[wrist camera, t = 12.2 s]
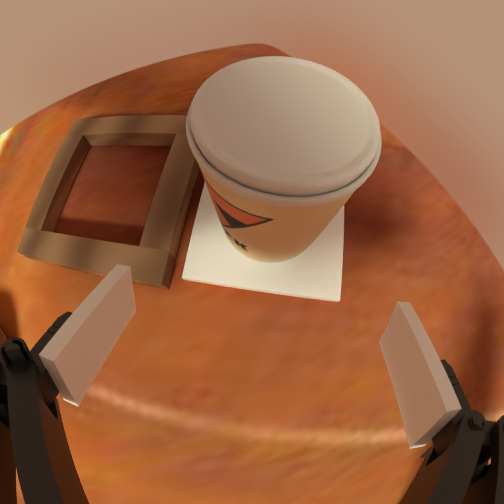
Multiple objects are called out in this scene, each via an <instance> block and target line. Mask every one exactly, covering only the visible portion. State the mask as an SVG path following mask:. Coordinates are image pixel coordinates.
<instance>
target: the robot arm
mask: <svg viewBox="0 0 504 504" xmlns="http://www.w3.org/2000/svg"><path fill="white" fill-rule="evenodd" d="M135 313H136V304H135V298H134V291H133V284H132V276H131V267H130V266H125V265H119V264H117V265H116V266H115V267H114V268H113V269H112V270H111V271H110V272H109V273H108V274H107V276H106V277H105V278H104V279H103V280H102V281H101V282H100V283H99V284H98V285H97V286H96V287H95V289H94V290H93V291H92V292H91V293H90V294H89V295H88V296H87V297H86V299H85V300H84V301H83V302H82V303H81V304H80V305H79V306H78V308H77V309H76V310H75V311H74V312H73V313H71V312H66V313H65V314H63V315H61V316H60V317H58V318H57V320H56V321H55V322H54V323H53V324H52V326H51V327H50V328H49V329H48V330H47V332H45V334H44V335H43V336H42V337H41V338H40V340H39V341H38V342H37V343H36V344H35V346H34V347H33V348H32V349H31V351H29V349H28V347H27V345H26V343H25V341H24V340H23V339H21V338H11V339H8V340H6V341H5V342H4V343H3V344H2V345H1V346H0V356H1V358H2V359H0V504H17V496H16V469H17V473H18V478H19V482H20V486H21V490H22V494H23V497H24V501H25V504H89V502H88V500H87V497H86V495H85V493H84V490H83V487H82V485H81V482H80V479H79V477H78V474H77V471H76V468H75V465H74V462H73V459H72V456H71V452H70V449H69V446H68V442H67V439H66V435H65V431H64V427H63V423H62V419H61V414H60V409H59V405H58V401H57V399H56V396H57V395H58V393H60V394H61V396H62V398H63V399H64V400H65V401H67V402H69V403H71V404H74V405H76V406H78V407H79V405H80V403H81V401H82V400H83V398H84V396H85V394H86V393H87V391H88V389H89V387H90V386H91V384H92V382H93V380H94V379H95V377H96V375H97V374H98V372H99V370H100V369H101V367H102V365H103V364H104V362H105V360H106V359H107V357H108V355H109V354H110V352H111V350H112V349H113V347H114V346H115V344H116V342H117V341H118V339H119V338H120V336H121V334H122V333H123V331H124V330H125V328H126V326H127V325H128V323H129V322H130V320H131V319H132V317H133V316H134V314H135ZM379 344H380V347H381V350H382V353H383V356H384V359H385V362H386V366H387V369H388V372H389V375H390V378H391V382H392V385H393V388H394V392H395V395H396V399H397V402H398V406H399V409H400V413H401V417H402V421H403V424H404V428H405V432H406V436H407V441H408V445H409V449H411V448H416V447H422V446H425V445H426V444H427V443H428V442H429V441H430V440H431V439H432V441H433V444H434V445H433V446H431V447H430V448H429V449H428V450H427V451H426V452H425V453H423V454H422V456H421V457H420V458H423V457H424V456H425V455H426V457H425V459H424V461H423V463H422V465H421V467H420V469H419V471H418V473H417V475H416V476H415V478H414V480H413V482H412V484H411V485H410V487H409V489H408V490H407V492H406V494H405V495H404V497H403V498H402V500H401V502H400V503H399V504H504V415H503V416H502V417H501V418H500V419H499V420H498V421H497V422H493V421H486V420H485V418H484V417H483V415H482V414H481V413H479V412H478V411H475V410H471V409H470V406H469V404H468V402H467V399H466V397H465V395H464V392H463V390H462V388H461V386H460V385H459V381H458V379H457V378H456V375H455V373H454V371H453V369H452V367H451V366H450V365H449V364H448V363H447V362H446V361H445V360H440V359H439V357H438V354H437V352H436V350H435V348H434V346H433V344H432V342H431V341H430V339H429V337H428V335H427V333H426V331H425V329H424V327H423V325H422V323H421V322H420V320H419V318H418V316H417V314H416V312H415V311H414V309H413V307H412V305H411V304H410V302H398V301H397V303H396V306H395V308H394V310H393V313H392V315H391V317H390V320H389V322H388V324H387V326H386V329H385V331H384V333H383V335H382V337H381V339H380V341H379ZM490 458H491V464H490V465H488V460H489V459H490Z"/></svg>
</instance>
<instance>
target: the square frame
mask: <svg viewBox="0 0 504 504" xmlns="http://www.w3.org/2000/svg"><path fill="white" fill-rule="evenodd" d="M186 119H187V115H128V116H109V117H95V118H84V119H76V121H75V123H74V124H73V126H72V128H71V129H70V131H69V133H68V135H67V136H66V138H65V140H64V142H63V144H62V146H61V147H60V149H59V151H58V153H57V155H56V157H55V159H54V161H53V163H52V165H51V167H50V169H49V171H48V173H47V175H46V178H45V180H44V182H43V184H42V187H41V189H40V191H39V194H38V196H37V198H36V201H35V203H34V206H33V208H32V211H31V214H30V216H29V219H28V222H27V224H26V227H25V230H24V233H23V236H22V239H21V242H20V245H19V249H18V252H19V253H21V254H22V255H24V256H26V257H28V258H30V259H34V260H38V261H42V262H46V263H50V264H54V265H58V266H62V267H66V268H70V269H74V270H78V271H82V272H87V273H91V274H95V275H100V276H104V277H106V276H107V274H108V273H109V272H110V271H111V270H112V269H113V268H114V267H115V266H116V265H117V264H119V265H125V266H130V267H131V276H132V283H137V284H142V285H147V286H152V287H157V288H163V289H168V290H169V287H170V282H171V278H172V273H173V269H174V264H175V260H176V256H177V251H178V247H179V243H180V239H181V235H182V231H183V227H184V223H185V219H186V215H187V211H188V207H189V204H190V200H191V196H192V193H193V189H194V185H195V182H196V178H197V175H198V171H199V168H200V166H199V164H198V162H197V160H196V159H195V157H194V155H193V153H192V151H191V148H190V146H189V143H188V139H187V133H186ZM98 145H140V146H170V147H171V149H170V152H169V154H168V157H167V160H166V163H165V165H164V168H163V171H162V174H161V177H160V180H159V182H158V185H157V188H156V191H155V194H154V198H153V201H152V204H151V207H150V210H149V213H148V217H147V220H146V223H145V227H144V230H143V234H142V237H141V241H140V245H139V246H134V245H127V244H121V243H115V242H109V241H103V240H96V239H90V238H84V237H78V236H72V235H66V234H60V233H54V231H55V228H56V225H57V222H58V219H59V216H60V214H61V211H62V208H63V206H64V203H65V201H66V198H67V196H68V193H69V191H70V188H71V186H72V184H73V181H74V179H75V177H76V175H77V172H78V170H79V168H80V166H81V164H82V162H83V159H84V157H85V155H86V153H87V151H88V149H89V147H90V146H98Z"/></svg>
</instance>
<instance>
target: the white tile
mask: <svg viewBox="0 0 504 504" xmlns="http://www.w3.org/2000/svg"><path fill="white" fill-rule="evenodd" d="M343 241H344V206H343V207H342V208H341V209H340V211H339V212H338V213H337V214H336V215H335V217H334V218H333V219H332V220H331V222H330V223H329V224H328V225H327V226H326V228H325V229H324V230H323V231H322V232H321V234H320V235H319V236H318V237H317V238H316V239H315V241H314V242H313V243H312V244H311V245H310V246H309V247H308V248H307V249H306V250H305V251H304V252H303V253H301V254H300V255H298V256H297V257H295V258H292V259H290V260H287V261H284V262H278V263H265V262H259V261H256V260H253V259H250V258H248V257H246V256H245V255H243V254H242V253H240V252H239V251H238V250H237V249H236V248H235V247H234V246H233V245H232V244H231V242H230V241H229V240H228V238H227V236H226V234H225V232H224V230H223V227H222V225H221V222H220V220H219V217H218V215H217V212H216V209H215V207H214V204H213V202H212V199H211V196H210V194H209V191H208V188H207V186H206V183H204V187H203V191H202V194H201V198H200V202H199V206H198V210H197V214H196V218H195V222H194V226H193V231H192V235H191V239H190V243H189V248H188V252H187V257H186V261H185V266H184V270H183V275H182V278H183V279H184V280H190V281H196V282H202V283H208V284H214V285H220V286H227V287H233V288H239V289H246V290H253V291H260V292H267V293H274V294H281V295H288V296H296V297H303V298H311V299H319V300H327V301H335V302H338V301H340V293H341V279H342V263H343Z"/></svg>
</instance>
